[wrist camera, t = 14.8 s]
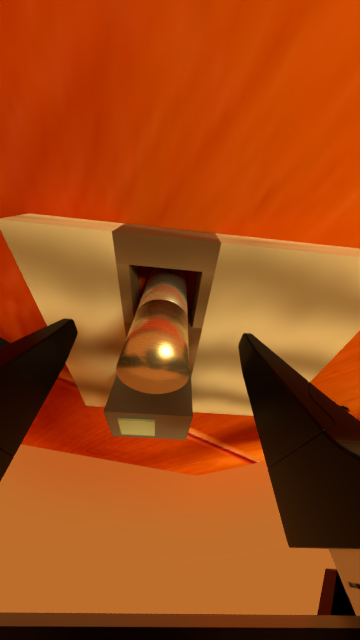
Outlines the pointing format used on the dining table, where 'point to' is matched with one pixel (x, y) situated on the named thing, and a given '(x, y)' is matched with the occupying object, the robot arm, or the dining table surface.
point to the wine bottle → (3, 343)
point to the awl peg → (158, 337)
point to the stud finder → (149, 412)
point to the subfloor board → (208, 302)
